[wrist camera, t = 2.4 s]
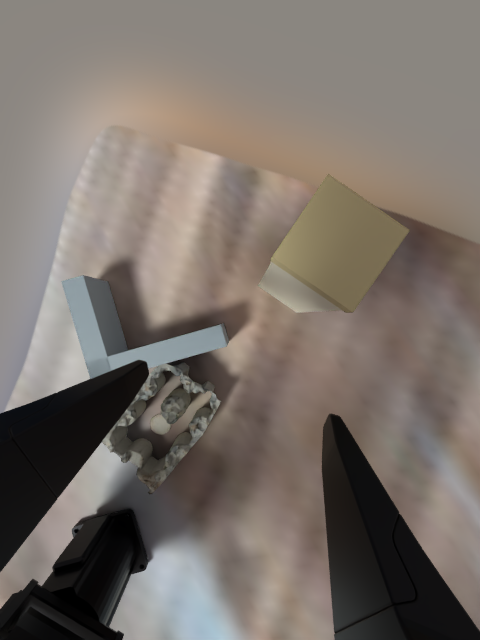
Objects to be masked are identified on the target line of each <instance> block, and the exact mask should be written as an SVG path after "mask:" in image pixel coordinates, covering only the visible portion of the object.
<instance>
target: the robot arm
mask: <svg viewBox="0 0 480 640" xmlns="http://www.w3.org/2000/svg"><path fill="white" fill-rule="evenodd" d="M148 376H149V370H148V365H147V362H146V361H143V360H136V361H134V362H131V363H129V364H126V365H124V366H121V367H119V368H116V369H114V370H112V371H109V372H107V373H104V374H102V375H99V376H97V377H94V378H92V379H89V380H87V381H84V382H82V383H79V384H77V385H74V386H72V387H69V388H67V389H64V390H62V391H59V392H58V393H54V394H52V395H50V396H47V397H44V398H42V399H39V400H37V401H34V402H32V403H29V404H26V405H23V406H21V407H18V408H15V409H12V410H9V411H6V412H3V413H1V414H0V572H1V571H2V569H3V568H4V567H5V566H6V564H7V563H8V562H9V561H10V559H11V558H12V557H13V555H14V554H15V553H16V552H17V550H18V549H19V548H20V546H21V545H22V544H23V542H24V541H25V540H26V539H27V537H28V536H29V535H30V533H31V532H32V531H33V530H34V528H35V527H36V526H37V524H38V523H39V522H40V521H41V519H42V518H43V517H44V516H45V514H46V513H47V512H48V510H49V509H50V508H51V507H52V505H53V504H54V503H55V501H56V500H57V498H58V497H59V496H60V495H61V493H62V492H63V491H64V490H65V488H66V487H67V486H68V484H69V483H70V482H71V481H72V479H73V478H74V477H75V475H76V474H77V473H78V472H79V470H80V469H81V468H82V466H83V465H84V464H85V463H86V461H87V460H88V459H89V457H90V456H91V455H92V454H93V452H94V451H95V450H96V448H97V447H98V446H99V445H100V443H101V442H102V441H103V439H104V438H105V437H106V436H107V434H108V433H109V432H110V430H111V429H112V428H113V427H114V425H115V424H116V423H117V421H118V420H119V419H120V418H121V416H122V415H123V414H124V412H125V411H126V410H127V409H128V407H129V406H130V404H131V403H132V402H133V400H134V399H135V397H136V395H137V394H138V392H139V391H140V389H141V388H142V386H143V384H144V383H145V381H146V380H147V378H148ZM322 477H323V491H324V504H325V517H326V530H327V543H328V557H329V570H330V583H331V596H332V609H333V623H334V632H335V634H334V637H335V640H480V631H479V629H478V628H477V627H476V625H475V624H474V622H473V621H472V620H471V618H470V617H469V615H468V614H467V612H466V611H465V610H464V608H463V607H462V605H461V604H460V602H459V601H458V600H457V598H456V597H455V595H454V594H453V592H452V591H451V590H450V588H449V587H448V585H447V584H446V583H445V581H444V580H443V578H442V577H441V575H440V574H439V572H438V571H437V570H436V568H435V567H434V565H433V564H432V562H431V561H430V559H429V558H428V556H427V555H426V553H425V552H424V550H423V549H422V547H421V546H420V544H419V543H418V541H417V540H416V538H415V536H414V535H413V533H412V532H411V530H410V529H409V527H408V525H407V524H406V522H405V521H404V519H403V517H402V516H401V515H400V514H399V511H398V509H397V508H396V506H395V504H394V503H393V501H392V500H391V498H390V496H389V495H388V493H387V492H386V490H385V488H384V487H383V485H382V483H381V482H380V480H379V479H378V477H377V475H376V474H375V472H374V470H373V469H372V467H371V466H370V464H369V462H368V461H367V459H366V457H365V456H364V454H363V453H362V451H361V449H360V448H359V446H358V445H357V443H356V441H355V440H354V438H353V436H352V435H351V433H350V432H349V430H348V428H347V427H346V425H345V423H344V422H343V420H342V419H341V417H340V416H338V415H335V414H329V415H328V417H327V419H326V422H325V424H324V427H323V448H322ZM128 515H129V516H128ZM72 534H73V537H74V538H73V539H72V541H71V542H70V543H69V545H68V546H67V547H66V549H65V550H64V551H63V553H62V554H61V555H60V557H59V558H58V559H57V561H56V562H55V564H54V565H53V567H52V568H53V572H52V573H51V574H50V576H49V577H48V579H47V580H46V581H45V583H44V584H43V585H42V586H40V585H39V584H38V581H36V580H34V579H32V580H31V581H30V583H29V584H28V585H27V586H26V587H25V589H24V590H23V591H22V590H20V591H19V592H18V593H14V594H12V596H11V597H10V598H9V599H8V601H7V602H6V603H5V604H4V605H3V607H2V608H1V609H0V640H122V639H123V636H124V634H123V633H122V632H120V631H118V632H116V631H114V630H113V629H111V628H109V626H110V623H111V621H112V618H113V616H114V614H115V611H116V609H117V607H118V604H119V602H120V600H121V597H122V595H123V592H124V590H125V588H126V585H127V583H128V581H129V578H130V576H131V574H134V573H138V572H142V571H144V570H145V569H146V567H147V565H148V559H147V556H146V553H145V549H144V546H143V543H142V539H141V536H140V533H139V529H138V526H137V522H136V519H135V516H134V512H133V511H132V510H131V509H126V510H123V511H119V512H116V513H112V514H108V515H104V516H101V517H97V518H93V519H90V520H87V521H83V522H80V523H77V524H76V525H75V526H74V527H73V529H72Z"/></svg>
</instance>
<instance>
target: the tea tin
mask: <svg viewBox="0 0 480 640" xmlns="http://www.w3.org/2000/svg"><path fill="white" fill-rule="evenodd" d="M409 231H410V230H409V229H407V228H406V227H404V226H403V225H401V224H400V223H399V222H397V221H396V220H394V219H393V218H391V217H390V216H388V215H387V214H386V213H384V212H383V211H381V210H380V209H378V208H377V207H375V206H374V205H373V204H371V203H370V202H368V201H367V200H365V199H364V198H362V197H361V196H359V195H358V194H357V193H355V192H354V191H352V190H351V189H349V188H348V187H347V186H345V185H344V184H342V183H340V182H339V181H338V180H336V179H335V178H333V177H332V176H331V175H329V174H328V175H327V177H326V178H325V180H324V181H323V182H322V184H321V185H320V187H319V188H318V190H317V191H316V193H315V194H314V196H313V197H312V199H311V200H310V202H309V203H308V205H307V206H306V207H305V209H304V210H303V212H302V213H301V215H300V216H299V218H298V219H297V221H296V222H295V224H294V225H293V227H292V228H291V230H290V231H289V233H288V234H287V235H286V237H285V238H284V240H283V241H282V243H281V244H280V246H279V247H278V249H277V250H276V252H275V253H274V255H273V256H272V258H271V260H270V261H271V263H270V265H269V267H268V269H267V270H266V272H265V274H264V276H263V277H262V279H261V281H260V283H259V284H258V286H259V287H260V288H261V289H263V290H264V291H266V292H267V293H269V294H270V295H272V296H273V297H275V298H276V299H278V300H279V301H280V302H282V303H283V304H285V305H286V306H288V307H289V308H291V309H292V310H294V311H295V312H297V313H299V312H319V311H338V310H343V311H344V312H345V313H348V312H354V310H355V309H356V307H357V306H358V305H359V303H360V302H361V300H362V299H363V297H364V296H365V294H366V293H367V292H368V290H369V289H370V287H371V286H372V284H373V283H374V281H375V280H376V279H377V277H378V276H379V274H380V273H381V271H382V270H383V268H384V267H385V266H386V264H387V263H388V261H389V260H390V258H391V257H392V255H393V254H394V253H395V251H396V250H397V248H398V247H399V245H400V244H401V242H402V241H403V240H404V238H405V237H406V235H407V234H408V232H409Z"/></svg>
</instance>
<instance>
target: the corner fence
mask: <svg viewBox="0 0 480 640" xmlns="http://www.w3.org/2000/svg"><path fill="white" fill-rule="evenodd" d="M61 282H62V285H63V288H64V292H65V295H66V298H67V302H68V305H69V308H70V312H71V315H72V318H73V322H74V325H75V329H76V332H77V335H78V339H79V342H80V345H81V349H82V352H83V355H84V359H85V362H86V365H87V369H88V372H89V375H90V379H92V378H94V377H97V376H99V375H102V374H104V373H107V372H109V371H112V370H114V369H116V368H119V367H121V366H124V365H126V364H129V363H131V362H134V361H136V360H143V361H146V362H147V365H148V368H152V367H155V366H159V365H162V364H166V363H169V362H173V361H176V360H180V359H184V358H187V357H191V356H194V355H198V354H201V353H205V352H208V351H212V350H215V349H219V348H223V347H226V346H227V345H228V343H229V339H228V336H227V332H226V329H225V325H224V323H223V324H219V325H216V326H212V327H209V328H205V329H202V330H198V331H194V332H191V333H187V334H184V335H180V336H177V337H173V338H170V339H166V340H163V341H159V342H156V343H152V344H148V345H145V346H141V347H138V348H134V349H131V350H128V348H127V344H126V341H125V337H124V334H123V331H122V327H121V324H120V320H119V317H118V314H117V310H116V307H115V304H114V300H113V297H112V293H111V290H110V287H109V283H108V282H107V281H104V280H100V279H96V278H92V277H88V276H84V275H82V276H79V277H75V278H72V279H68V280H65V281H61Z"/></svg>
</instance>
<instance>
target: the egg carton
mask: <svg viewBox="0 0 480 640" xmlns="http://www.w3.org/2000/svg"><path fill="white" fill-rule="evenodd" d="M189 369H190V367H189V366H188V365H187V364H185V363H184V362H181V363H180V364H179V365H176V366H172V365H169V364H162V365H159V366H158V367H157V368H156V369H155V370H154V371H153V372H152V373H151V374H150V375H149V377H148V378H147V380H146V381H145V383H144V384H143V386H142V388H141V389H140V391H139V392H138V394H137V395H136V397H135V399H134V400H133V402H132V403H131V404H130V406H129V407H128V409H127V410H126V411H125V412H124V414H123V415H122V416H121V418H120V419H119V420H118V421H117V423H116V424H115V425H114V427H113V428H112V429H111V430H110V432H109V433H108V434H107V436H106V437H105V438H104V439H103V441H102V442H103V444H104V445H106V446H107V447H108V449H109V450H110V452H114V453H116V454H117V455H119V456H120V458H121V461H122V462H123V463H126V462H128V460H129V461H131V462H132V463H133V464H134V465H136V466H137V467H138V469H137V477H138V478H139V480H140V481H141V482H143V483H144V484H146V485H147V487H148V488H149V489H150V491H149V492H148V493H149V494H152V493H154V491H155V490H156V489H157V488H158V487H159V486H160V485H161V484H162V482H163V481H164V480H165V479H166V478H167V477H168V476H169V474H170V473H171V472H172V471H173V469H174V468H175V467H176V465H177V464H178V463H179V462H180V460H181V459H182V458H183V457H184V456H185V455H186V454H187V453H188V451H189V450H190V449H191V447H192V446H193V445H194V444H195V443H196V442H197V441H198V439H199V438H200V437H201V436H202V435H203V433H204V432H205V430H206V428H207V426H208V425H209V423H210V421H211V419H212V418H213V416H214V414H215V412H216V410H217V409H218V407H219V405H220V403H221V400H220V401H219V400H218V399H217V397H216V395H215V394H214V393H213V391H214V388H215V386H214V385H213V384H212V383H210V382H209V381H207V382H206V383H204V384H202V385H200V384H198V383H196V382H193V381H192V380H191V379H190V378H189V376H188V372H189ZM170 370H171V371H172V372H173V373H174V374H175V375H176V376H180V375H181V377H180V381H181V382H182V383H183V387H184V389H175V390H173V391H172V392H171V393H170V394H169V396H168V397H166V398H165V400H164V401H163V403H162V404H161V414H157V415H155V416H154V417H153V418H152V419H151V422H150V427H151V430H152V431H153V432H154V433H156V434H160V435H163V434H166V433H167V432H168V431H169V430H170V429H171V424H173V423H175V422H176V421H177V420H178V419H179V418H180V417H181V416H182V415H183V414H184V413H185V411H186V409H187V407H188V406H189V404H190V400H191V397H190V394H189V393H190V392H194V393H198V392H199V391H201V392H202V393H205V392H207V391H210V392H211V393H212V395H211V398H210V405H211V408H212V409H209V408H200V409H199V410H197V412H196V413H195V415H194V417H193V419H192V421H191V423H190V424H189V427H190V433H188V432H185V433H181V434H179V435H178V436H177V438H176V440H175V442H174V443H173V445H172V447H171V448H170V451H169V452H168V453H167V454H166V457H163V458H161V459H160V460H156V459H155V458H154V457H152V456H151V453H152V450H153V447H152V444H151V443H150V442H149V441H148V440H146V439H143V438H140V439H137V440H135V441H134V442H132V441H131V440H130V439H128V438H127V436H126V435H127V426H129V425H131V424H132V423H133V422H134V421H136V420H137V418H138V417H139V416H140V415H141V414H142V413H143V412H144V411H145V409H146V402H145V400H148V399H150V398H151V397H153V396H154V395H156V393H157V392H158V391H159V390H160V389H161V388H162V387H163V386H164V384H165V376H164V374H163V371H170Z"/></svg>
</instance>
